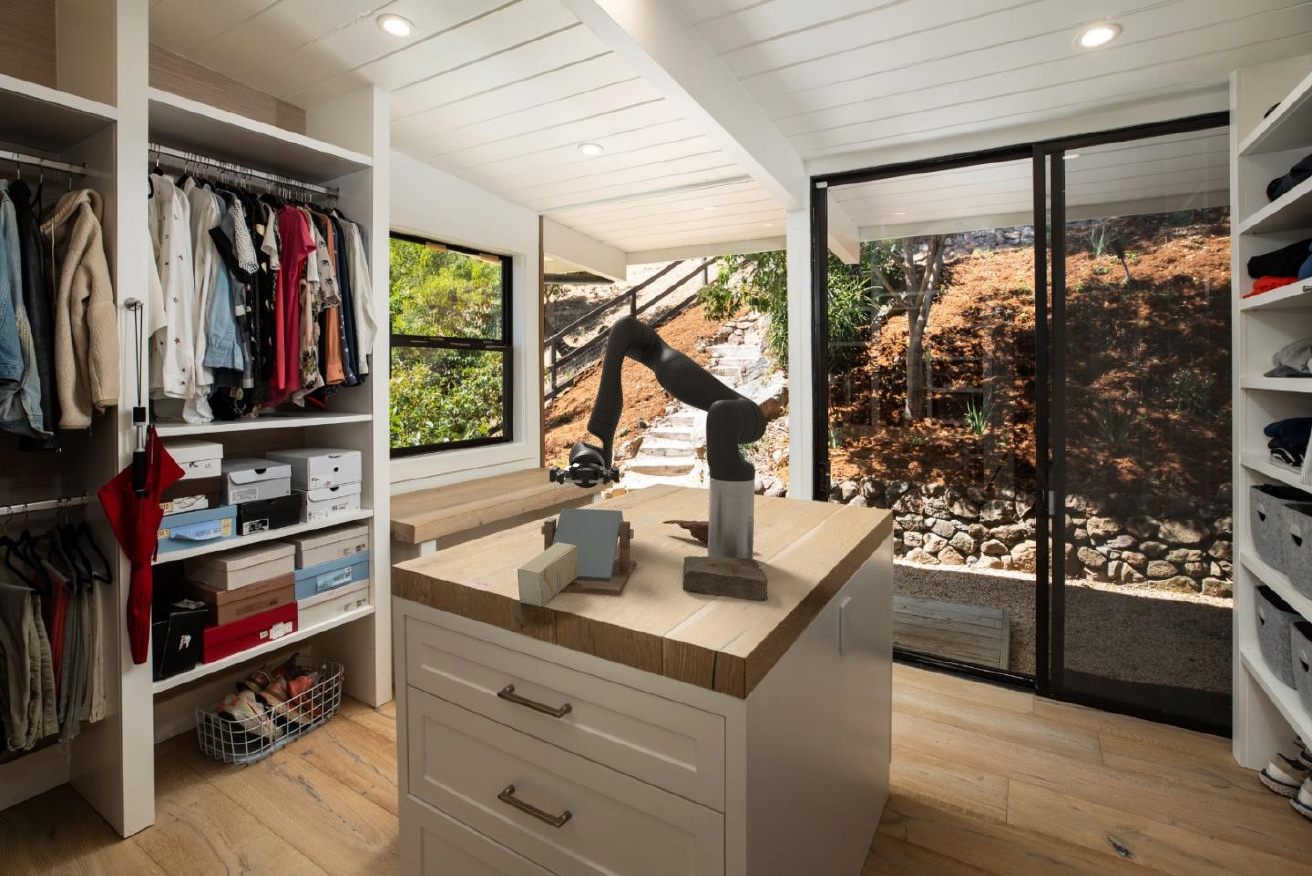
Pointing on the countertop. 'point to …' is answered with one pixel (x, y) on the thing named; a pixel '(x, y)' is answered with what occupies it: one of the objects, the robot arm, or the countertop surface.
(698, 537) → the bird sculpture
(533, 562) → the skincare box
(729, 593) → the grey brown flat block
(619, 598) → the countertop surface
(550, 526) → the frame
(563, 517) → the trapdoor flap
